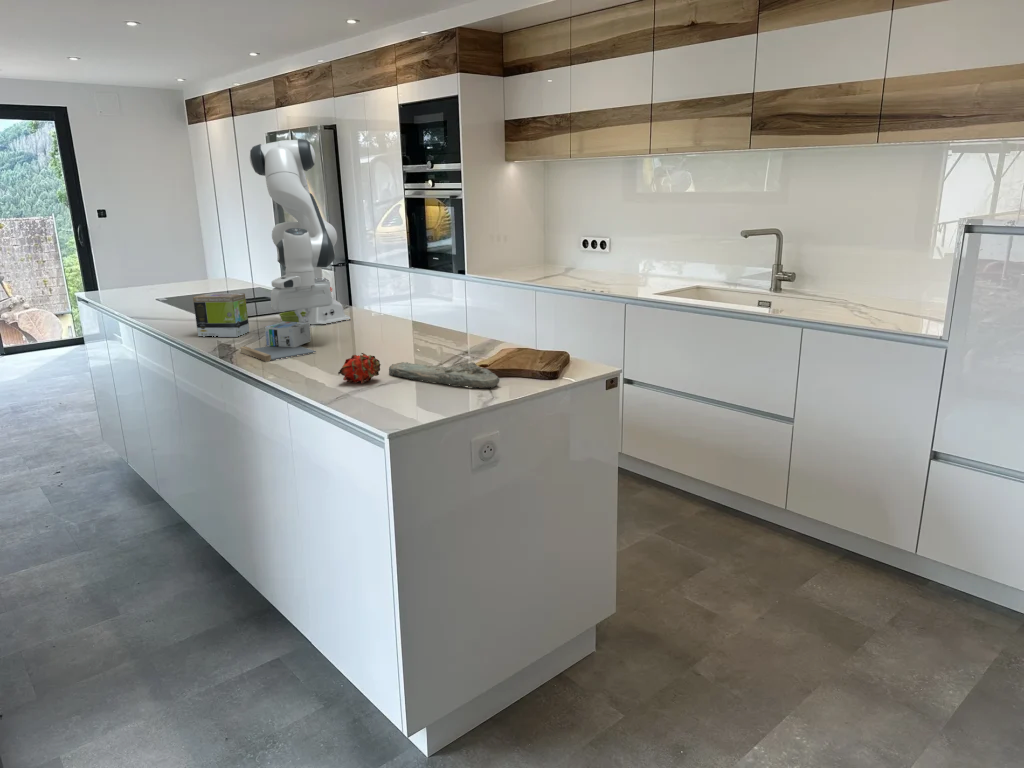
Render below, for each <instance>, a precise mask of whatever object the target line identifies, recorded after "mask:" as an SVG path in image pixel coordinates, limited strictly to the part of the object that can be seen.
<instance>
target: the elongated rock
mask: <svg viewBox="0 0 1024 768" xmlns="http://www.w3.org/2000/svg"><path fill="white" fill-rule="evenodd" d="M388 375H389V376H391V375H394V376H393V377H399V378H405V379H408V378H410V380H412V379H413V380H412V381H419V380H423V381H428V382H427V383H429V382H436V383H435V384H441V383H445V384H444V385H446V384H448V385H447V386H452V385H460V386H459V387H461V386H468V387H473V388H476V387H479V389H481V388H490V387H491V388H494V387H496V386H497V385H499V383H500V378H499V376H498V375H496V373H495V372H494V373H493V372H492V371H491V370H490V369H487V368H483V367H481V366H479V365H477V364H476V363H475V362H474V361H473V362H468V363H467V362H466V363H465V364H464V363H460V364H459V365H451V366H445V367H442V366H437V365H427V364H419V363H411V362H407V361H406V362H403V361H401V362H397V363H392V364H391V365H389V367H388ZM423 381H422V382H423ZM449 384H450V385H449Z"/></svg>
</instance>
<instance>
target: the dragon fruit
mask: <svg viewBox="0 0 1024 768" xmlns="http://www.w3.org/2000/svg"><path fill="white" fill-rule="evenodd" d="M381 366H382V364H381V363H380V360H379V359H378V358H376V356H375V355H371V354H368V355H367V354H365V353H364V352H361V353H360V354H359V355H356V354H352V355H351V357H350V358H346V359H345V361H344V364H343V365H342V367H341V368H340V370H339V371H338V373H337V374H338V375H340V374H341V376H344V377H343V381H346V383H352V382H356V383H358V382H360V384H361V385H362V384H364V383H366V382H371V381H372V378H373V377H377V376H379V375H380V373H379V372H380V371H381V368H380V367H381Z"/></svg>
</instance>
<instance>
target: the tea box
mask: <svg viewBox="0 0 1024 768" xmlns="http://www.w3.org/2000/svg"><path fill="white" fill-rule="evenodd" d="M192 300H193V308H194V314H195V315H194V316H195V322H196V330H197V336H203V337H202V338H206V337H205V336H212V337H211V338H239V337H241V336H240V335H242V336H244V335H246V334H245V333H247V332H249V333H250V326H249V316H248V308H247V300H246V293H243V292H242V293H241V292H240V293H239V292H237V293H235V292H234V293H230V292H229V293H204V294H201V295H196V296H193V297H192ZM243 334H244V335H243ZM247 334H248V333H247ZM213 336H214V337H213ZM216 336H218V337H216ZM238 336H239V337H238Z"/></svg>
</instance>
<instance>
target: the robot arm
mask: <svg viewBox="0 0 1024 768" xmlns="http://www.w3.org/2000/svg"><path fill="white" fill-rule="evenodd" d="M249 151H250V153H249V162H250V165H251V167H252V169H253V170H254V172H255V173H256V174H258V175H259V176H264V177H265V183H266V187H267V191H268V195H269V197H270V198H271V199H272V201H273V202H275V203H276V204H278V205H280V207H281V208H282V209H283V211H284V212H285V213H287V214H289V215H290V216H292V218H294V219H295V221H285V222H284V221H283V222H281V223H277V224H275V225H274V227H273V228H272V231H271V239H272V242H273V244H274V246H275V247H276V252H277V262H278V263H279V264H280V265H282V266H283V267H285V274H284V275H282V276H280V277H278V278H275V279H273V280H272V281H271V287H273V288H272V290H271V292H270V306H271V309H272V311H274V312H276V313H284V312H291V311H295V313H296V315H297V316H298V317H299V323H309V324H326V323H331V322H336V321H341V320H346V319H350V320H351V316H349V315H347V314H345V310H344V306H343V305H342V303H340V302H339V301H338V300H336V299H335V298H333V295H332V292H333V287H332V286H331V281H330V280H329V279H327V278H326V277H323V269H322V268H327V267H329V266H331V264H332V263H333V262H334V261H335V256H336V252H335V245H336V244H337V241H338V233H337V230H336V229H335V227H334V226H333V224H331V223H329V222H328V221H327V220H326V219H324V218H323V216H322V214H321V212H320V209H319V206H318V204H317V201H316V199H315V197H314V194H313V193H311V192H310V189H309V185H308V181H307V175H306V172H307V171H308V170H311V169H312V168H314V166H315V163H316V162H315V161H316V152H315V150H314V146H313V145H312V144H311V142H310V141H309V140H307V139H302V138H298V139H286V140H285V139H283V140H279V141H273V142H272V141H271V142H268V143H263V144H261V143H259V144H257V145H254V146H252V147H251V149H250V150H249ZM302 311H303V312H306V314H305V316H304V317H302V315H301V314H300V313H301V312H302ZM346 321H347V320H346ZM341 322H342V321H341ZM336 323H337V322H336ZM331 324H332V323H331ZM326 325H327V324H326Z"/></svg>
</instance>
